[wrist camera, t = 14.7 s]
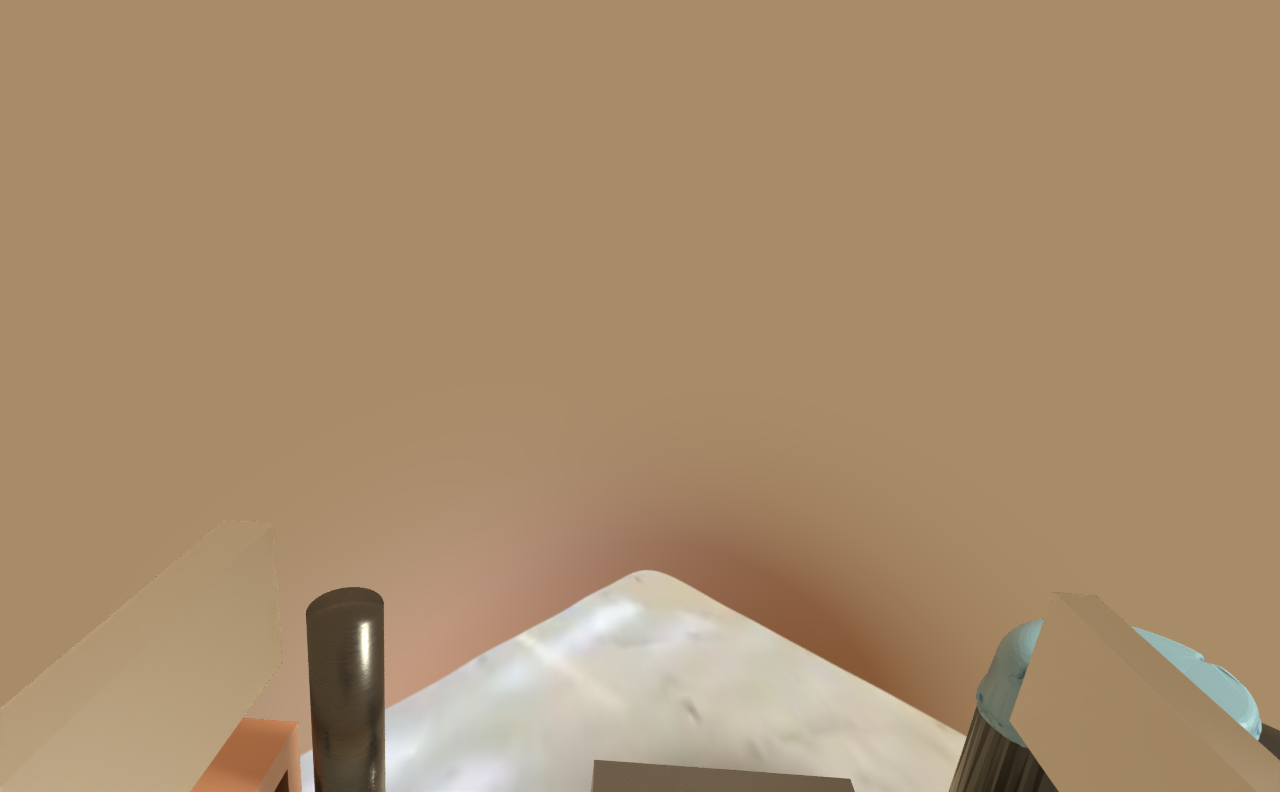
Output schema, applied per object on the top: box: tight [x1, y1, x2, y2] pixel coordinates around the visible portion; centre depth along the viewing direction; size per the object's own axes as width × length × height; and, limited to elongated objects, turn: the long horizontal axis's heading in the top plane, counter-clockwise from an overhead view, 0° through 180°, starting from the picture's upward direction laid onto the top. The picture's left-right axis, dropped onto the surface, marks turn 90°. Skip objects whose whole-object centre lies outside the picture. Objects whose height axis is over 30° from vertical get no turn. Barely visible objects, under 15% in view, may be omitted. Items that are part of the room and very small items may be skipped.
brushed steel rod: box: [306, 587, 385, 792], centre depth 37 cm, size 24×4×20 cm, turn 91°
